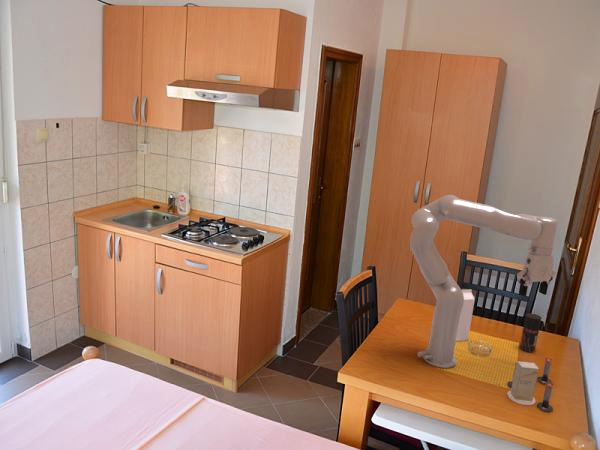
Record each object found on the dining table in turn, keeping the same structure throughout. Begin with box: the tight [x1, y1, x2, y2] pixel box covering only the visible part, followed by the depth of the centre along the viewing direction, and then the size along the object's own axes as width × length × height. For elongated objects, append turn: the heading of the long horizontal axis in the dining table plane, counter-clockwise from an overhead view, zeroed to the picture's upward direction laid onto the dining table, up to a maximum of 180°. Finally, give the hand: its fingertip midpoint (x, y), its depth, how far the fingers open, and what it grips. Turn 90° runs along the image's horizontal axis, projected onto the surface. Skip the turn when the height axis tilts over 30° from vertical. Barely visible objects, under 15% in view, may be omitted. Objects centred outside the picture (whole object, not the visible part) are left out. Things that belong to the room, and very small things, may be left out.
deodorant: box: [519, 312, 542, 354], centre depth 218 cm, size 6×6×15 cm
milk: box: [456, 288, 476, 342], centre depth 223 cm, size 6×6×22 cm
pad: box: [507, 389, 536, 406], centre depth 181 cm, size 9×9×1 cm
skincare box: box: [510, 360, 540, 401], centre depth 180 cm, size 6×4×12 cm
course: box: [506, 357, 554, 413], centre depth 184 cm, size 19×19×9 cm
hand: (532, 294), depth 196 cm, fingers open, 9 cm apart
